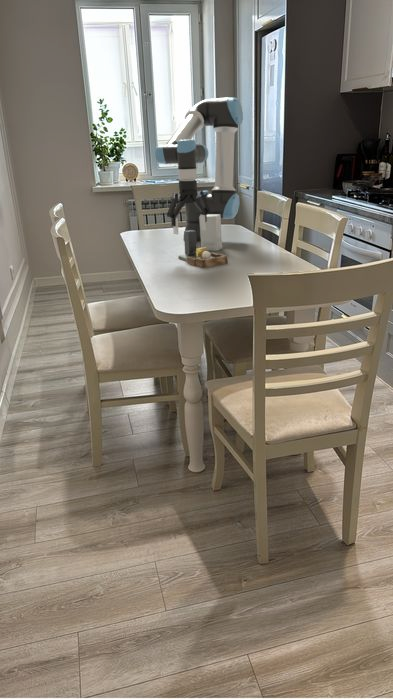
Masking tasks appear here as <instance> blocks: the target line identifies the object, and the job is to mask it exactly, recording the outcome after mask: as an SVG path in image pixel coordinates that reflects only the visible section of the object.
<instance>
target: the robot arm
mask: <svg viewBox="0 0 393 699" xmlns="http://www.w3.org/2000/svg"><path fill="white" fill-rule="evenodd" d="M243 115H244V112H243V106H242V103H241V101H240V100H239V99H238V98H237V97H232V96H231V97H229V96H227V97H219V98H218V97H217V98H216V97H215V98H207V99H203V100H200V101H198V102H197V103H196V104H195V105H193V106H192V107H191V108H190V109H188V111H187V113H186V114H185V115H184V120H183V121H182V123H181V124H180V125H179V126H178V128H177V129H176V130H175V131H174V133H173V134H172V136H171V137H170V139H168V141H167V143H166V144H164V145H163V144H161V145H157V146H156V148H155V151H154V156H155V160H156V162H157V163H158V164H162V165H174V164H175V165H177V166H178V167H177V172H178V173H177V174H178V180H179V181H178V189H179V191H178V192H179V193H177V192H174V193H172V198H171V202H170V205H169V208H168V211H167V213H166V217H167V218H170V219H171V226H172V229H173V235H179V219H178V218H177V217H178V215H179V213H180V212H181V210H182V208H183V207H184V206H185V223H186V224H185V228H184V231H188V230H194V231H196V236H197V243H198V242H200V243H201V235H200V225H201V230H203V231H206V229H205V222H206V221H207V215H208V214H220V217H221V220H222V219H223V220H227V219H228V220H229V219H234V217H236V216H237V214H238V211H239V208H240V195H239V194H238V193H236V192H237V190H236V189H235V187H234V184H233V183H234V162H235V160H234V159H235V158H234V157H235V136H236V132H237V131H238V130H239V126H240V125H242V123H243V120H244V116H243ZM204 127H213V128H212V129H213V131H214V132H215V133H216V134H215V136H216V137H215V165H214V166H215V167H214V168H215V171H214V172H215V173H214V186H213V188H212V189H211V193H210V191H209V190H197V189H198V181H197V178H198V175H197V172H198V171H197V164H202V163H205V161H207V159H208V158H209V150H208V148H207V146H206V145H204V144H202V143H196V140H195V139H193V137H194V136H195V135H196V133H197V132H198V131H200V130H202V129H203V128H204ZM199 217H200V221H199Z"/></svg>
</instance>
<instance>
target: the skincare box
mask: <svg viewBox="0 0 393 699" xmlns="http://www.w3.org/2000/svg"><path fill="white" fill-rule="evenodd" d="M221 220H222V219H221V217H220V214H208V215H207V221H206V222H205V229H206V231H203V230H201V225H200V235H201V241H200V248H203V247H206V248H207V251H209V252H210V251H216V252H217V251H220V250H222V248H223V239H222V238H223V237H222V221H221ZM199 221H200V217H199Z"/></svg>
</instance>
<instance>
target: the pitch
mask: <svg viewBox="0 0 393 699" xmlns="http://www.w3.org/2000/svg"><path fill="white" fill-rule="evenodd" d="M210 254H211V257H210V258H209V259H203V258H202V257H199V258H197V257H196V255H190V256H189V255H186V254H181V255H177V256H178V260H182V261H184V262H186V263H187V264H189V265H192V266H197V267H200V268H203V269H204V268H205V269H206V268H210V267H214V266H220V265H225V264H228V260H229V258H228V255H227V254H222V253H215V252H210Z"/></svg>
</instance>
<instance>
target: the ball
mask: <svg viewBox="0 0 393 699" xmlns="http://www.w3.org/2000/svg"><path fill="white" fill-rule="evenodd" d="M210 257H211V252H210V251H209V250H207V251H204V252H203V253H202V258H203V259H209V258H210Z"/></svg>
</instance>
